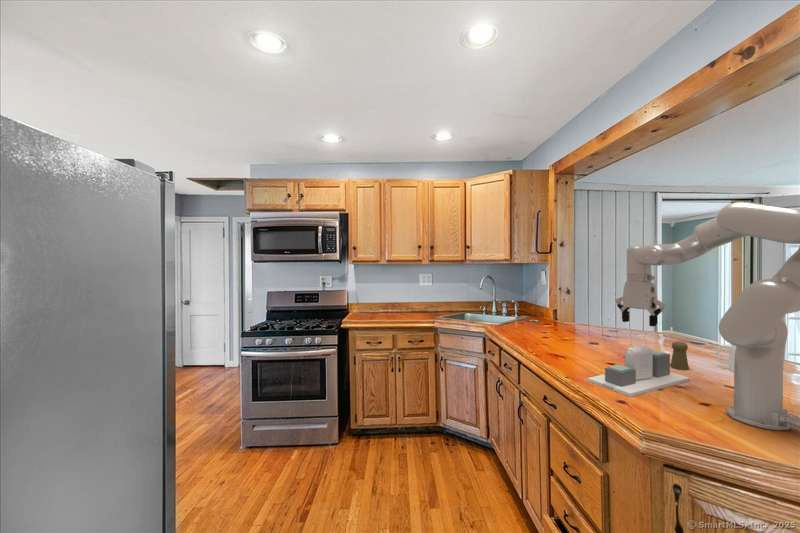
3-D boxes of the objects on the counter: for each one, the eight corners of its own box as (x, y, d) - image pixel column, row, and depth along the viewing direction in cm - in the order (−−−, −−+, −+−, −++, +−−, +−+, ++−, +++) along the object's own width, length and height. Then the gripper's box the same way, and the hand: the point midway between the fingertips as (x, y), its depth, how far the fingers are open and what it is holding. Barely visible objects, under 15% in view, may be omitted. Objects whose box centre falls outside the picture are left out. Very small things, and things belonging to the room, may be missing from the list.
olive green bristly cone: (687, 367, 141) (687, 341, 141) (690, 371, 136) (690, 344, 136) (669, 364, 144) (669, 339, 144) (671, 368, 139) (671, 342, 139)
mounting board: (689, 380, 126) (689, 355, 125) (630, 397, 112) (630, 368, 111) (644, 368, 140) (644, 345, 140) (587, 381, 126) (587, 356, 126)
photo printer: (643, 374, 129) (643, 343, 129) (654, 378, 125) (654, 346, 125) (622, 377, 126) (623, 345, 126) (633, 381, 122) (633, 348, 122)
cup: (716, 365, 143) (717, 342, 142) (757, 372, 134) (758, 347, 134) (715, 370, 137) (716, 346, 137) (758, 377, 128) (758, 351, 128)
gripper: (670, 279, 119) (671, 326, 119) (622, 277, 134) (622, 319, 135) (658, 280, 116) (658, 328, 116) (609, 278, 131) (609, 321, 132)
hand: (638, 323), depth 125 cm, fingers open, 9 cm apart
